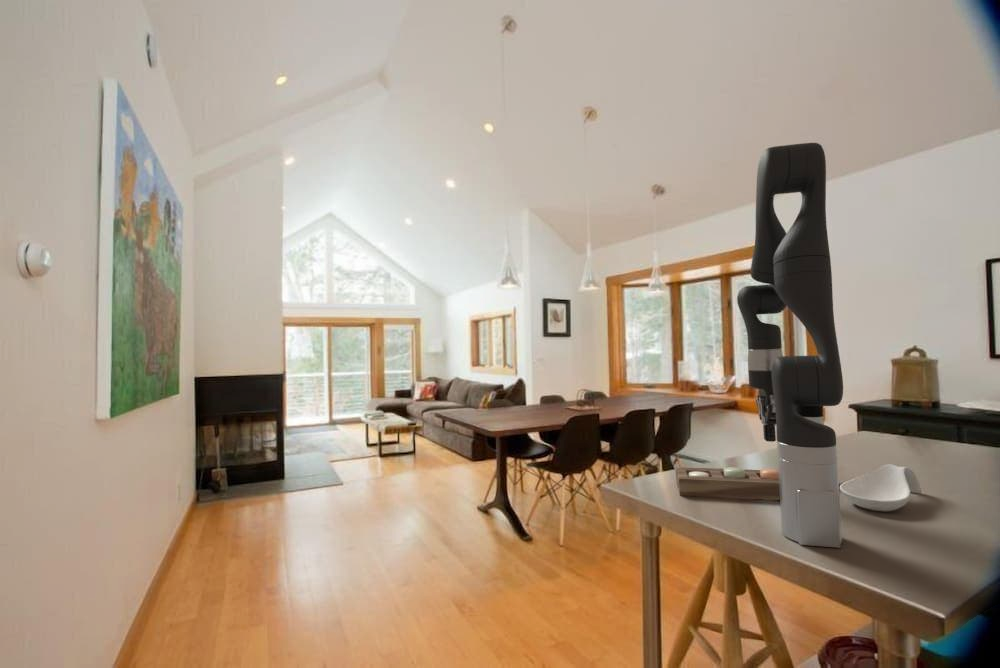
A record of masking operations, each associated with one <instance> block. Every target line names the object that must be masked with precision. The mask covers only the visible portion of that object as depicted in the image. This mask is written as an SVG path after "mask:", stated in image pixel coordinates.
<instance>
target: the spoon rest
mask: <svg viewBox="0 0 1000 668" xmlns="http://www.w3.org/2000/svg"><path fill="white" fill-rule="evenodd" d="M839 492H841V494H842V495H843V496H844V497H845V499H847V500H848V501H850V502H851V503H852V504H854V505H856V506H858V507H860V508H862V509H866V510H870V511H874V512H875V511H876V512H893V511H896V510H898V509H900V508H902V507H903V506H905V505H906V504H907V503H908V502H909V500H910V498H911V494H912V493H913V494H922V488H921V485H920V481H919V479H918V478H917V476H916V474H915V472H914V471H913V470H912V469H911V468H910V467H908V466H897V465H894V464H891V463H889V464H887V463H886V464H884V465H882V466H879V467H877V468H875V469H874V470H871V471H869V472H867V473H864V474H862V475H859V476H857V477H854V478H852V479H850V480H847V481H845V482H843V483H841V484H840V485H839Z"/></svg>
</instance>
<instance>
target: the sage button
mask: <svg viewBox="0 0 1000 668" xmlns="http://www.w3.org/2000/svg"><path fill="white" fill-rule="evenodd" d="M723 469H724V478H745V470H746V469H743V468H741V467H740V468H739V467H731V466H730V467H724V468H723Z"/></svg>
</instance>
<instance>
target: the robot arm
mask: <svg viewBox="0 0 1000 668" xmlns="http://www.w3.org/2000/svg"><path fill="white" fill-rule="evenodd" d="M826 180H827V162H826V154H825V149H824V148H823V146H822V145H821V143H817V142H806V143H805V142H804V143H795V144H794V143H793V144H785V145H778V146H777V145H776V146H771V147H768V148H766V149H764V150H763V152H762V154H761V156H760V159H759V161H758V165H757V172H756V188H755V190H756V192H755V194H756V195H755V238H754V247H753V254H752V259H751V264H750V276H751V278H752V279H753V280H754V281H756V282H758V283H762V284H759V285H757V284H756V285H746V286H743V287H742V288H741V289H740V290H739V291H738V293H737V296H736V297H737V298H736V301H737V303H736V304H737V306H738V308H739V311H740V315H741V316H742V319H743V322H744V325H745V329H746V333H747V334H746V335H747V372H748V386H749V388H751V389H755V390H757V389H758V394H756V399H755V403H756V407H757V411H758V417H759V420H760V421H761V424H762V427H763V439H764V441H766V442H775V441H776V450H777V468H778V469H777V470H778V473H779V491H780V501H779V507H780V518H781V519H780V521H781V534H783V536H785V537H786V538H788V539H789V540H792V541H794V542H796V543H798V544H799V545H801V546H813V547H815V546H816V547H827V548H838V549H839V548H841V544H842V542H843V536H842V535H843V534H842V533H843V532H842V518H841V504H840V503H841V502H840V500H841V499H840V485H839V473H838V472H839V470H838V453H837V452H838V451H837V435H836V431H835V430H834V429H833V427H830V426H828V425H825V424H824V425H823V424H820V423H817V422H814V421H811V420H809V419H806V418H804V417H803V416H801V415H799V414H798V413H797V412H796V411H795V410H794V406H795V405H799V406H823V407H834V406H835V407H836V406H838V405H840V404H841V402H842V400H843V396H844V380H843V379H844V378H843V371H842V365H841V357H840V352H839V345H838V339H837V338H838V337H837V334H836V333H837V332H836V324H835V318H834V317H835V315H834V313H835V312H834V298H833V297H834V296H833V276H832V275H833V274H832V262H831V261H832V260H831V254H830V246H829V237H828V229H827V226H828V225H827V213H826V212H827V210H826V197H827V196H826V195H827V181H826ZM793 193H800V194H801V204H800V205H801V206H800V209H799V212H798V214H797V215H796V218H795V220H794V222H793V223H792V225H791V227H790V228H789V230H788V231H787V232H786V230H785V228H784V226H783V224H782V223H781V222H780V220H779V218H778V216H777V214H776V211H775V206H774V200H775V199H774V198H775V195H784V194H793ZM786 308H788V309H789V310H790V311H791V313H793V315H795V317H796V318H797V319H798V321H800V322H801V324H802V325H803V327H804V328H805V329H806V331H807V333H808V334H809V336H810V337H811V339H812V341H813V343H814V346H815V348H816V353H817V354H816V355H786V356H784V353H783V349H782V348H783V347H782V345H783V344H782V331H781V328H780V326H779V325H777V324H774V323H768V322H767V323H766V322H763V321H761V320H760V319H759V317H758V315H773V314H774V315H775V314H780V313H782V312H783V311H784V310H785V309H786Z"/></svg>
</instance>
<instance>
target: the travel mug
mask: <svg viewBox="0 0 1000 668" xmlns="http://www.w3.org/2000/svg"><path fill="white" fill-rule="evenodd" d="M823 408H824V406H799V405H795V406H794V410H795V411H796V412H797V413H798V414H799V415H801V416H803V417H804V418H806V419H809V420H811V421H814V422H817V423H820V424H823V425H825V422H824V417H825V416H824V410H823Z"/></svg>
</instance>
